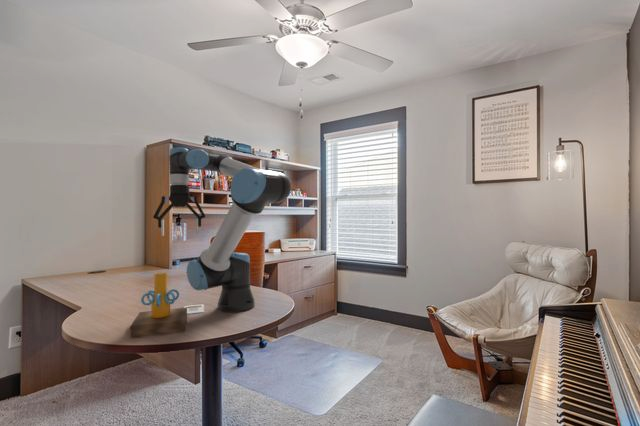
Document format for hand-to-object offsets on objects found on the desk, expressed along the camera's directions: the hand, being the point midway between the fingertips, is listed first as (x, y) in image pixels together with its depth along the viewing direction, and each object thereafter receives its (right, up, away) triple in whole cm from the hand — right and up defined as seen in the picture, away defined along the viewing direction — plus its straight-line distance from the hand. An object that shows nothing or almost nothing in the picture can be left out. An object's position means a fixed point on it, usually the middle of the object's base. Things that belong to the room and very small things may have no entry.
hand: (180, 235), depth 141 cm
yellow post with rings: (+3, -27, -24) cm, 36 cm away
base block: (+4, -31, -24) cm, 39 cm away
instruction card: (+7, -31, -3) cm, 32 cm away
